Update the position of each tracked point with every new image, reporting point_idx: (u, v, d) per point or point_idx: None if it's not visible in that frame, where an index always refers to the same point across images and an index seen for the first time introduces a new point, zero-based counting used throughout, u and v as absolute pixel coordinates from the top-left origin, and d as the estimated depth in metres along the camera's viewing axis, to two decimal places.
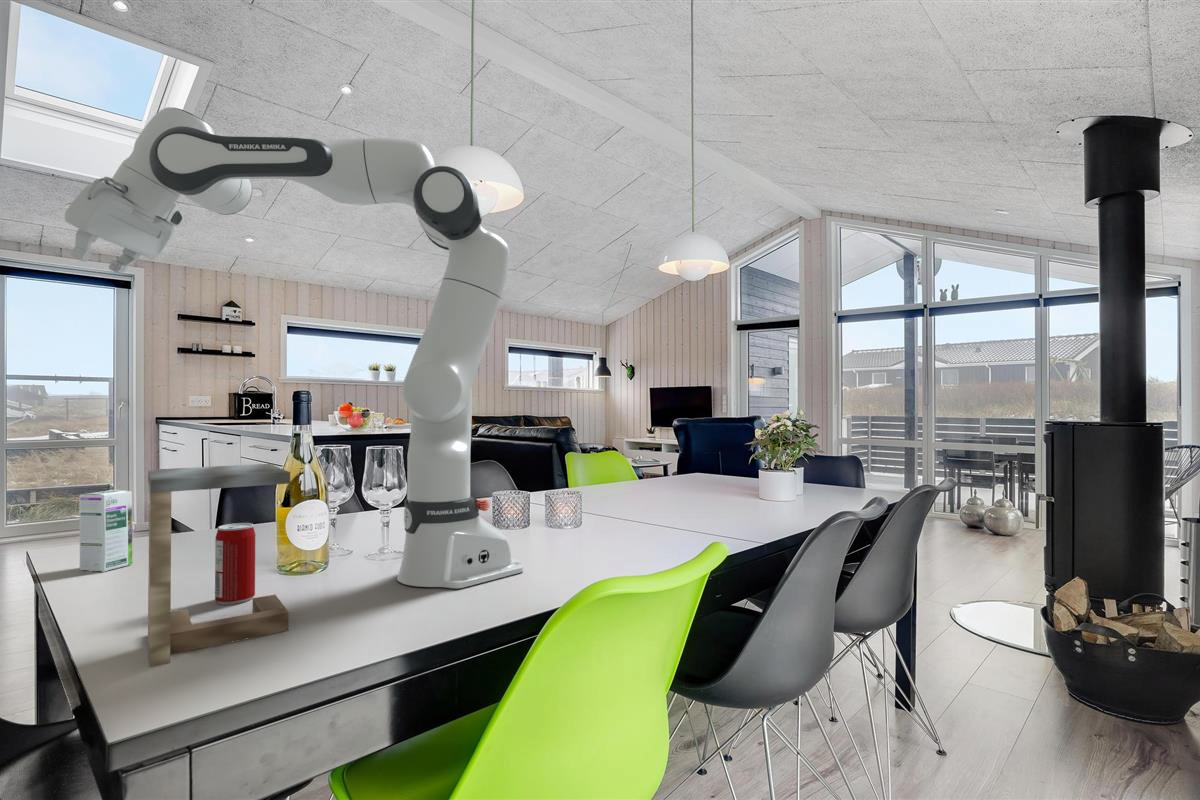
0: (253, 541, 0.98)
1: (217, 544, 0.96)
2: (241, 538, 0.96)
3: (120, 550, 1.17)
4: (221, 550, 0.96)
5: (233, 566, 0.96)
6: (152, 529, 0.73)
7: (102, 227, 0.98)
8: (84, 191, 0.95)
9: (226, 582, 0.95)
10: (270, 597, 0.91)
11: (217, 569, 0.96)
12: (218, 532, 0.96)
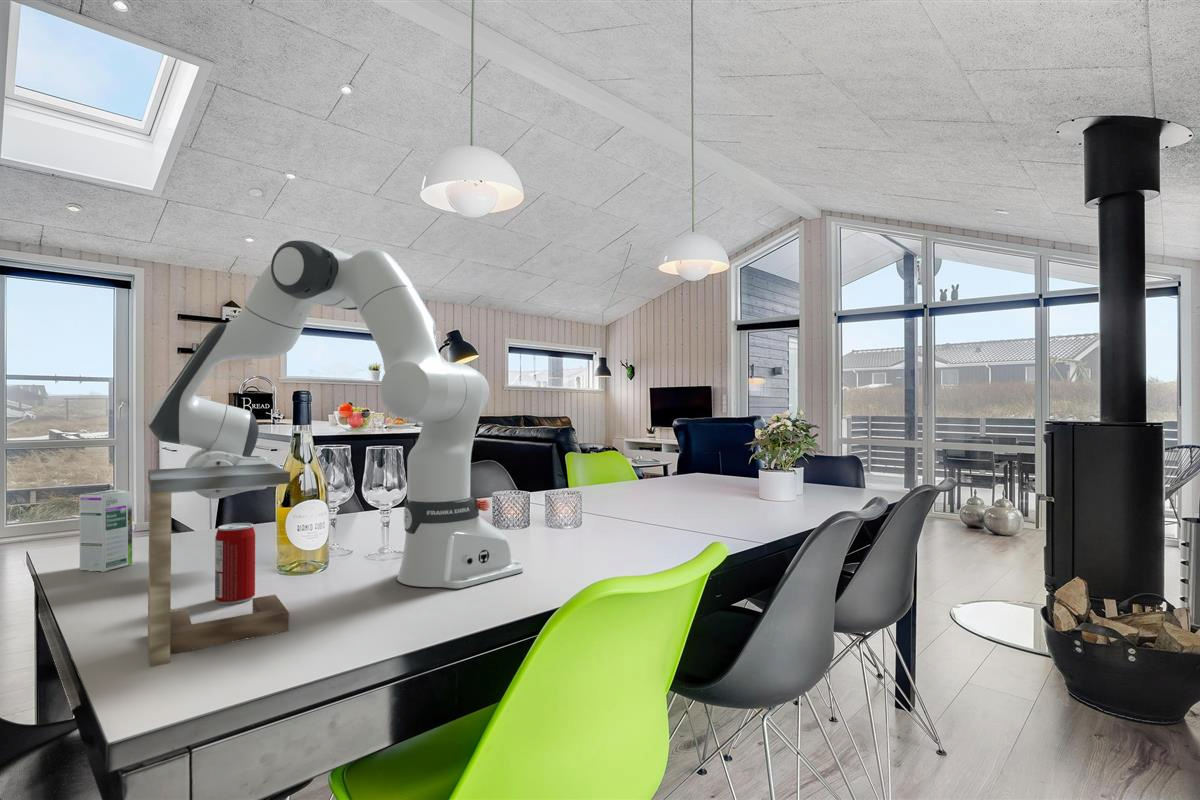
0: (253, 541, 0.98)
1: (217, 544, 0.96)
2: (241, 538, 0.96)
3: (120, 551, 1.17)
4: (221, 550, 0.96)
5: (233, 566, 0.96)
6: (152, 529, 0.73)
7: None
8: None
9: (226, 582, 0.95)
10: (270, 597, 0.91)
11: (217, 569, 0.96)
12: (218, 532, 0.96)
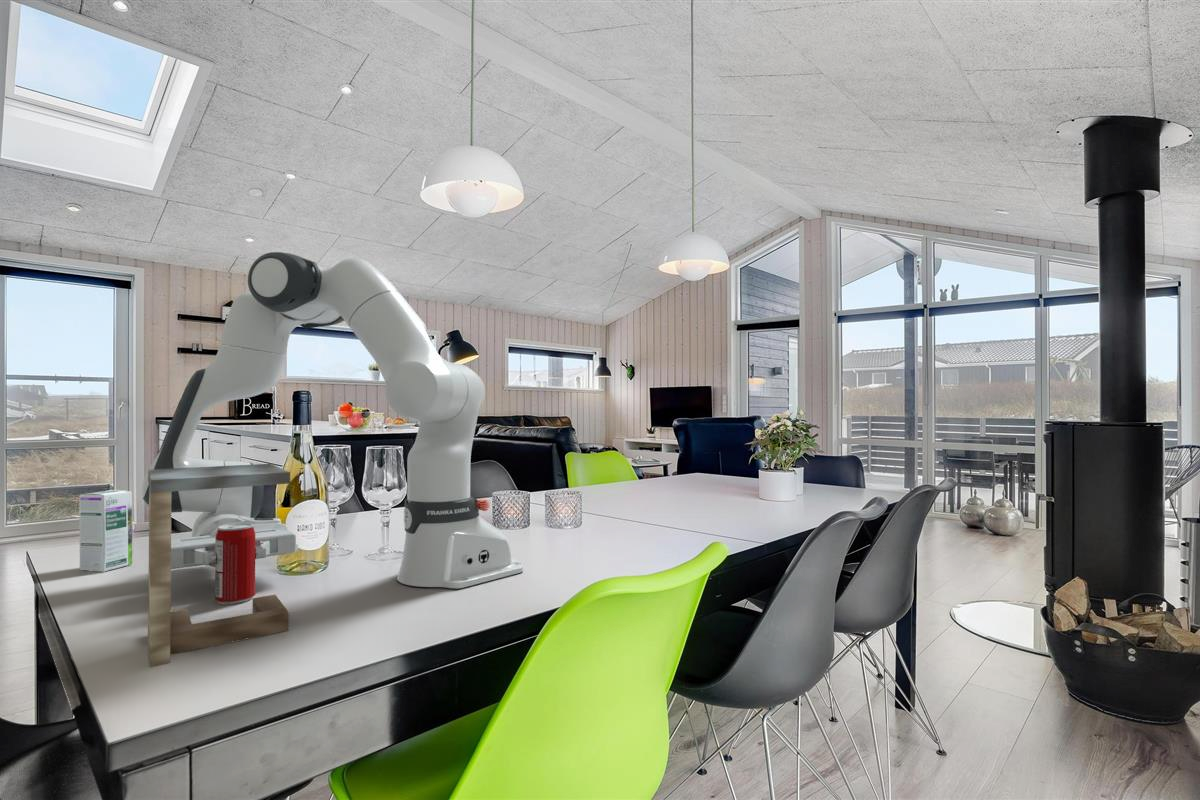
0: (253, 541, 0.98)
1: (217, 544, 0.96)
2: (241, 538, 0.96)
3: (120, 551, 1.17)
4: (221, 550, 0.96)
5: (233, 566, 0.96)
6: (152, 529, 0.73)
7: (182, 543, 0.98)
8: None
9: (226, 582, 0.95)
10: (270, 597, 0.91)
11: (217, 569, 0.96)
12: (218, 532, 0.96)
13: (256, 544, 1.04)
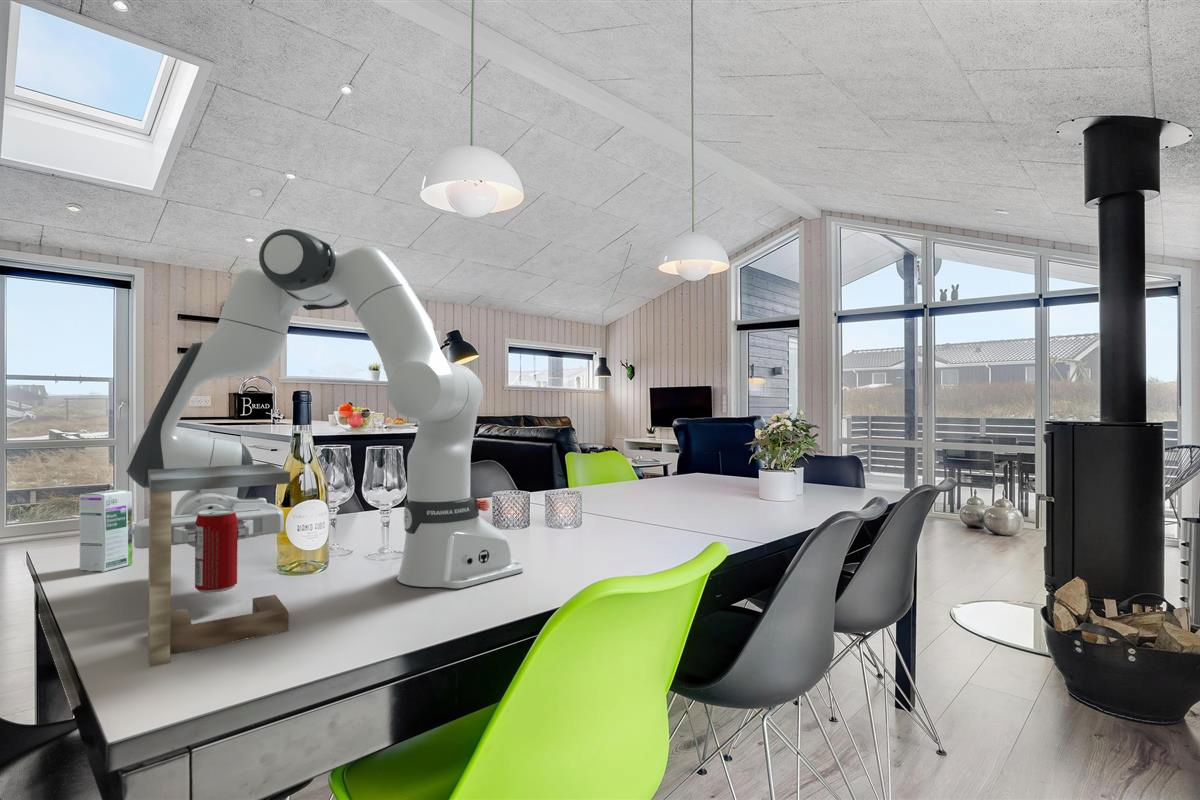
0: (235, 527, 0.94)
1: (197, 530, 0.92)
2: (222, 524, 0.92)
3: (120, 551, 1.17)
4: (201, 536, 0.91)
5: (214, 553, 0.91)
6: (152, 529, 0.73)
7: None
8: None
9: (206, 570, 0.91)
10: (270, 597, 0.91)
11: (197, 556, 0.92)
12: (198, 518, 0.92)
13: (239, 523, 0.99)
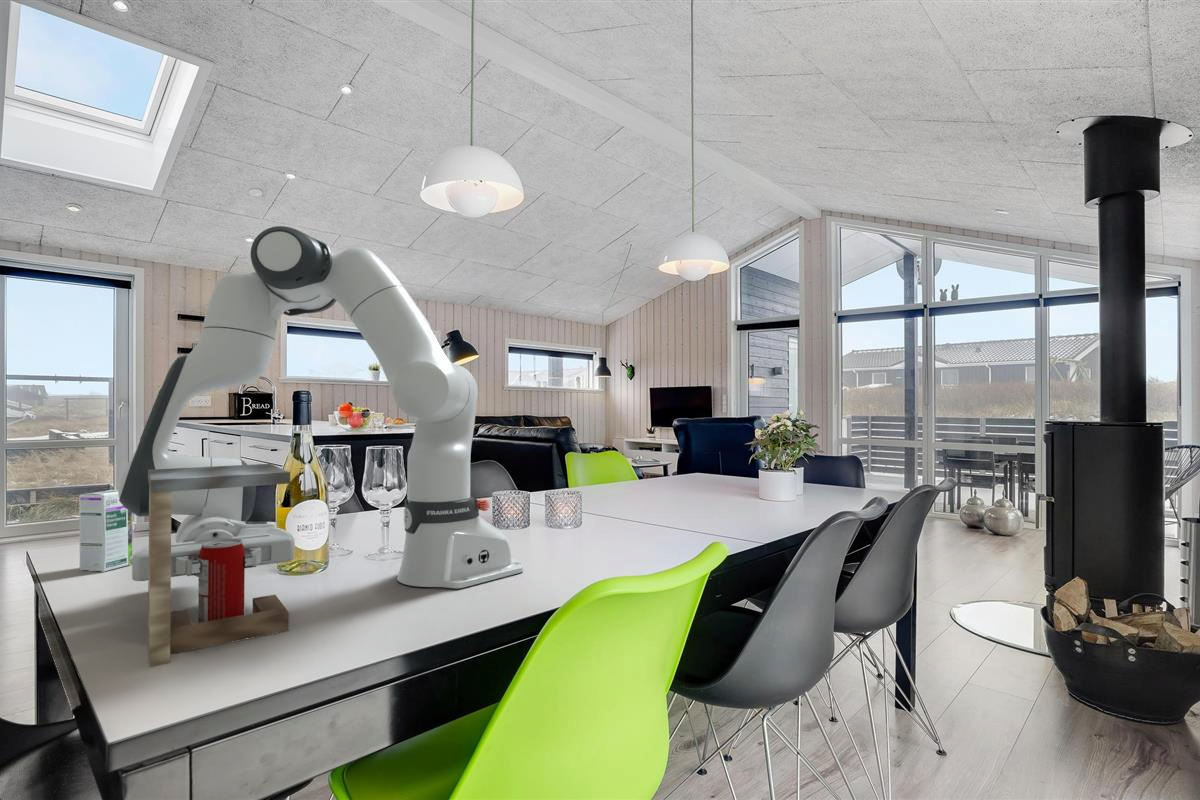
0: (242, 559, 0.87)
1: (201, 564, 0.84)
2: (229, 556, 0.85)
3: (120, 551, 1.17)
4: (206, 570, 0.84)
5: (221, 588, 0.84)
6: (152, 529, 0.73)
7: None
8: None
9: (212, 607, 0.84)
10: (270, 597, 0.91)
11: (201, 592, 0.84)
12: (202, 550, 0.84)
13: (246, 551, 0.91)
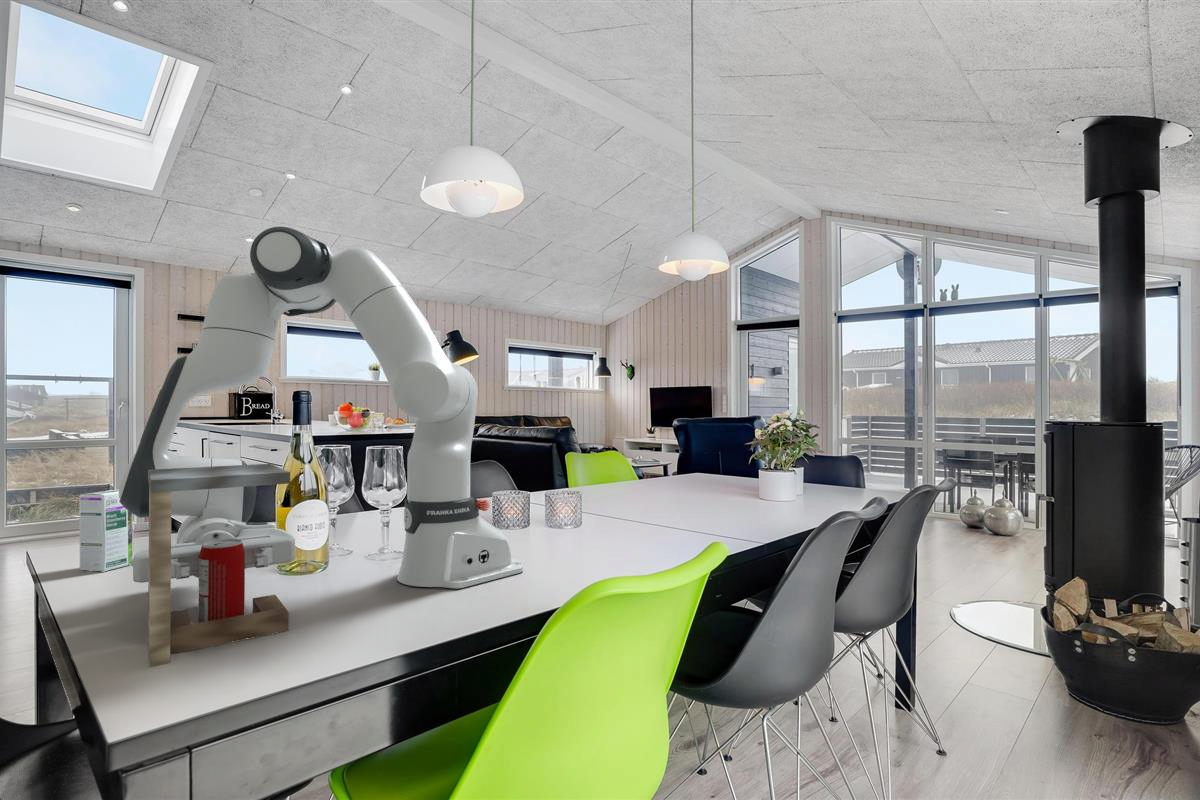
0: (243, 559, 0.87)
1: (201, 564, 0.84)
2: (230, 556, 0.85)
3: (120, 551, 1.17)
4: (206, 570, 0.84)
5: (221, 589, 0.84)
6: (152, 529, 0.73)
7: None
8: None
9: (212, 607, 0.84)
10: (270, 597, 0.91)
11: (201, 592, 0.84)
12: (202, 550, 0.84)
13: (257, 551, 0.92)
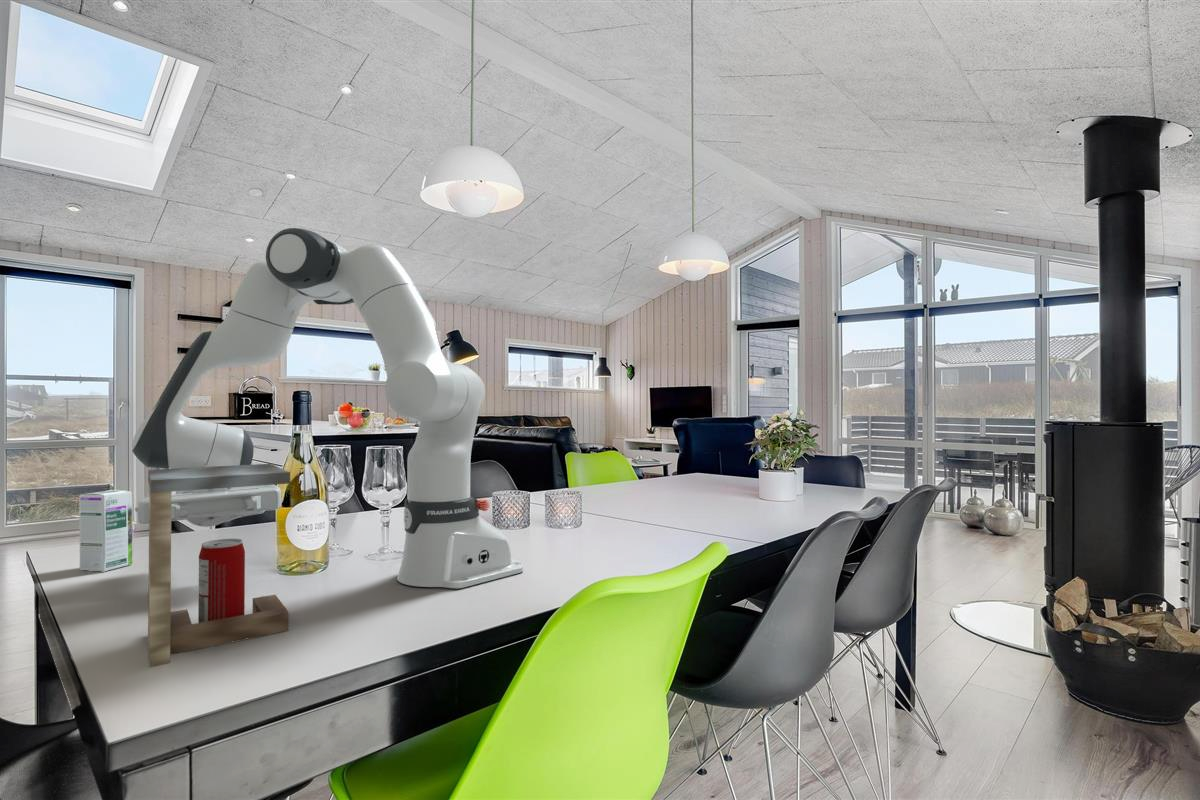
0: (243, 559, 0.87)
1: (201, 564, 0.84)
2: (230, 556, 0.85)
3: (120, 551, 1.17)
4: (206, 571, 0.84)
5: (221, 589, 0.84)
6: (152, 529, 0.73)
7: None
8: None
9: (212, 607, 0.84)
10: (270, 597, 0.91)
11: (201, 592, 0.84)
12: (202, 550, 0.84)
13: (247, 499, 1.04)
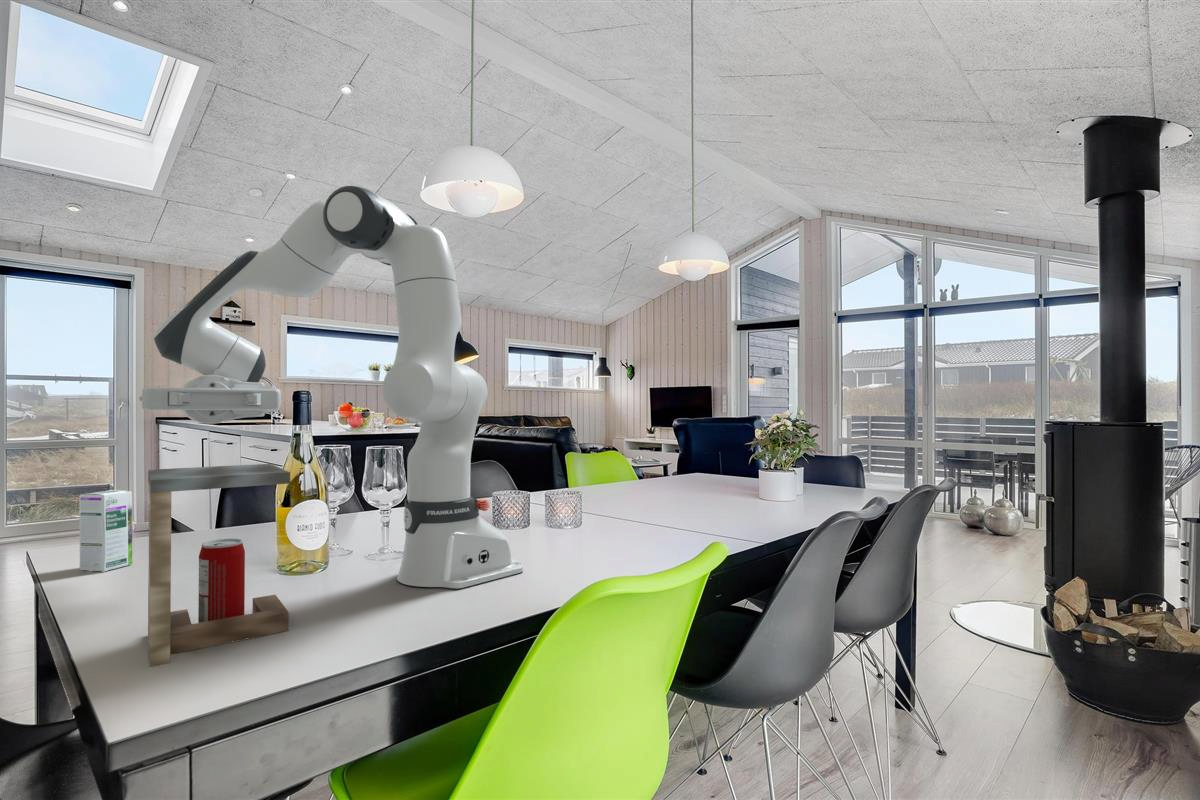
0: (243, 559, 0.87)
1: (201, 564, 0.84)
2: (230, 556, 0.85)
3: (120, 551, 1.17)
4: (207, 570, 0.84)
5: (221, 589, 0.84)
6: (152, 529, 0.73)
7: None
8: None
9: (212, 607, 0.84)
10: (270, 597, 0.91)
11: (201, 592, 0.84)
12: (202, 550, 0.84)
13: None
